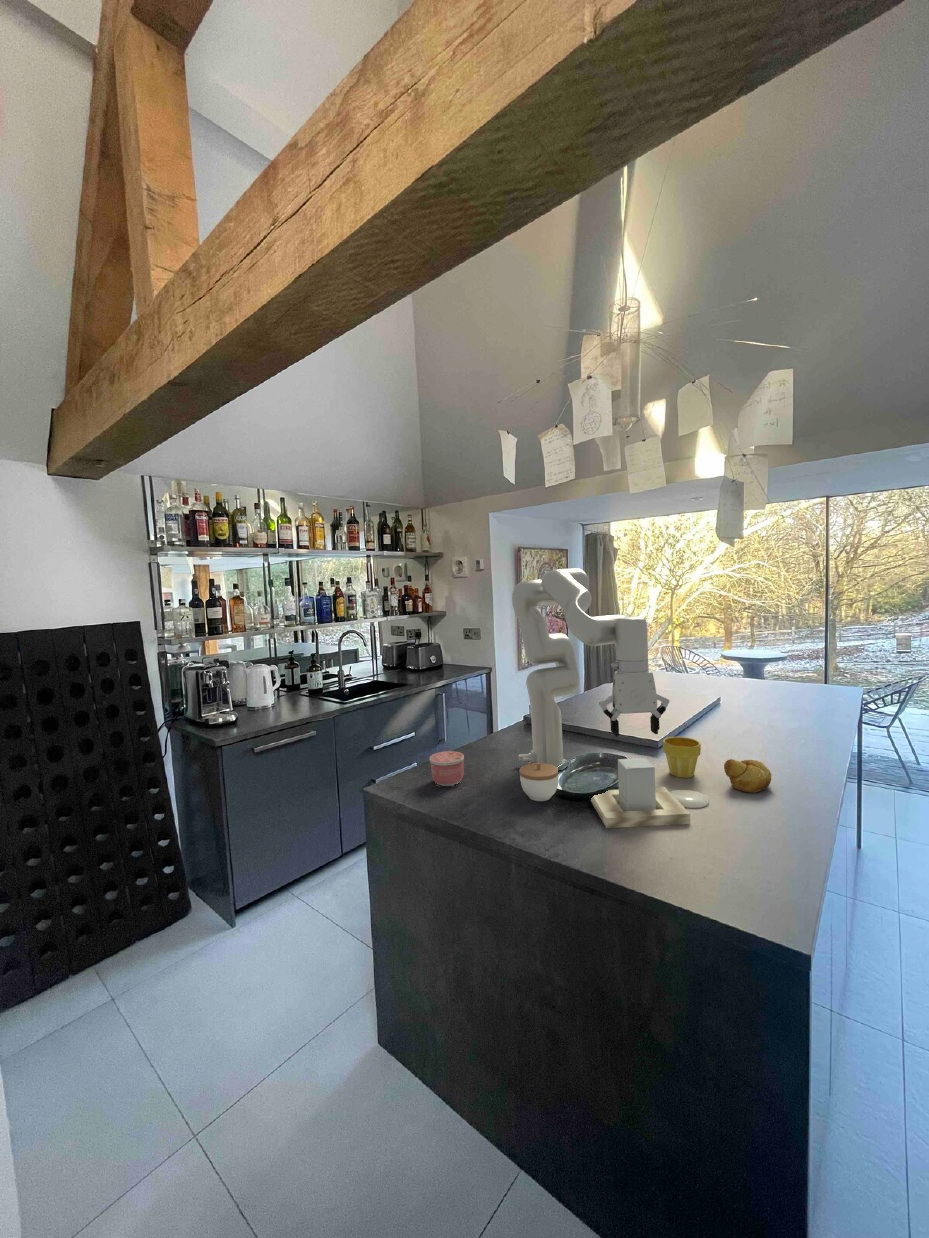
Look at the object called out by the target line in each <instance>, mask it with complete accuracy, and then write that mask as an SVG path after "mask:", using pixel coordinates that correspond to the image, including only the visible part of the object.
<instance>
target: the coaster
mask: <svg viewBox="0 0 929 1238" xmlns="http://www.w3.org/2000/svg"><path fill="white" fill-rule="evenodd" d="M669 792H670V793H671V794H672V795H673V797H674V798H675V799H676V800H677V801H678V802H679V803H680V804H681V805H682V806H683V807H684V808H685V809H686V808H687V809H701V808H705V807H707V806H708V805H709V804H710V798H709V797H708V796H707V795H705V794H704V793H701V792H698V791H695V790H689V789H688V790H687V789H677V790H672V791H669Z"/></svg>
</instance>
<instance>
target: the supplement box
mask: <svg viewBox="0 0 929 1238" xmlns="http://www.w3.org/2000/svg"><path fill="white" fill-rule="evenodd" d="M655 769H656V767H655V766H654V765H653V764H652V763H651V762H649V760H648V759H647V758H646V757H639V758H638V757H637V758H636V757H633V758H618V759H617V775H618V776H617V778H618V781H617V782H618V790H619V804H618V805H619V806H620V807H621V809H622V810H623V811H641V810H656V795H655V788H656V770H655Z"/></svg>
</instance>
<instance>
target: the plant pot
mask: <svg viewBox="0 0 929 1238" xmlns="http://www.w3.org/2000/svg"><path fill="white" fill-rule="evenodd" d="M701 747H702V746H701V742H700V741H699V740H697V739H695V738H690V737H686V736H685V737H684V736H669V737H666V738H664V739H663V740H662V750H663V753H664V754H665V757H666V761H667V762H666V763H667V766H668V770H669V773H670V774H671V775H672V776H673V777H677V778H685V779H686V778H687V779H688V778H692V777H693V776H695V771H696V766H697V761H698V758H699V756H700V755H701V750H702V749H701Z"/></svg>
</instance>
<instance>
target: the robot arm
mask: <svg viewBox="0 0 929 1238" xmlns="http://www.w3.org/2000/svg"><path fill="white" fill-rule="evenodd" d="M589 578H590V577H589V575H588V574H587V573H586V572H585V571H584V570H582V569H581V568H574V567H573V568H557V569H551V570H549V571H547V572H546V573H544V574H543V576H542V578H541V579H529V580H523V581H520V582H519V583H517V584H516V585H515V586H514V588H513V590H512V595H511V603H512V607H513V611H514V613H515V616H516V618H517V621H518V623H519V627H520V632H521V633H520V634H521V638H522V643H523V648H524V653H525V656H526V660H527V661H528V663H529V664H532V665H537V666H538V665H547V664H553V663H554V664H555V666H553V667H552V666H550V667H544V668H538V669H534V670H533V671H531V672H530V673H528V675H527V676H526V677H527V678H526V682H525V683H526V689H527V694H528V698H529V706H530V720H531V735H532V737H531V738H532V739H531V740H532V749H531V750H530V752H528V753H522V754H521V753H519V754H518V761H523V763H528V764H531V763H547V764H551V765H554V766H556V767H558V766H559V765H561V764H562V763H565V762H566V761H568V760H567V759H565V758H564V750H563V749H564V746H563V745H564V744H563V727H562V726H563V725H562V712H561V708H560V707H559V705H558V703H557V702H556V701H555V698H558V697H564V696H568V695H573V694H575V693H577V692H578V690H579V688H580V682H581V681H580V680H581V678H580V674H579V670H578V669H579V668H578V663H577V659H576V654H575V650H574V644H573V643H572V640H571V639H570V638H569V637H568V635H566V634H565V633H561V632H556V633H555V632H554V633H553V632H552V633H549V629H548V625H547V620H546V619H545V617H544V615H543V614H542V613H541V612H540V611H539V610H538V609H537V608H536V607H544V606H555V605H558V606H559V607H560V608H561V609H562V610H564V611H565V613H564V617H565V624H566V626H567V628H568V630H569V631H570V633H571V634H572V635H573V636H574V637H575V638H576V639H577V640H579V641H580V643H582V644H584V645H586V646H589V647H598V646H605V645H614V644H615V648H616V649H615V652H616V653H615V654H616V658H615V661H614V662H611V663H610V667H611V669H615V670H616V671H614V674H613V678H612V679H613V680H612V691H611V692H612V693H611V695H609V696H608V697H606V698H604V699H602V700H601V701H599V702H598V706H599V707H600V709H601V711H602V713H603V714H605V715H606V716H607V717H608V718H609V719H610V721H609V722H610V723H609V724H610V732H611V733H612V734H613V735H614V736H615V737H619V736H620V727H619V720H618V718H619V716H620V715H621V714H623V715H627V714H628V715H629V714H630V715H631V714H646V713H650V714H651V715H650V717H649V719H650V720H649V721H650V732H652V733H653V734H654V735H659V730H660V718H662V715H663V714H664V713H666V710H667V707H668V705H669V704H670V699H668V698H667V697H665V696H663V695H660V694H658V693H657V688H656V681H655V678H654V673H653V671H651V670H650V669H649V643H648V642H649V641H648V622H647V620H646V618H645V617H643V616H627V615H623V614H611V615H609V614H608V615H606V614H605V615H599V616H596V615H595V616H589V615H588V614H587V613H586V611H588V609H589V608H590V605H591V603H592V601H593V599H592V598H593V597H592V594H591V592H590V591H589V588H590V579H589ZM658 701H659V702H660V705H659V706H658ZM610 704H611V705H612V710H611V711H610V710H609V709H608V705H610Z"/></svg>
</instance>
